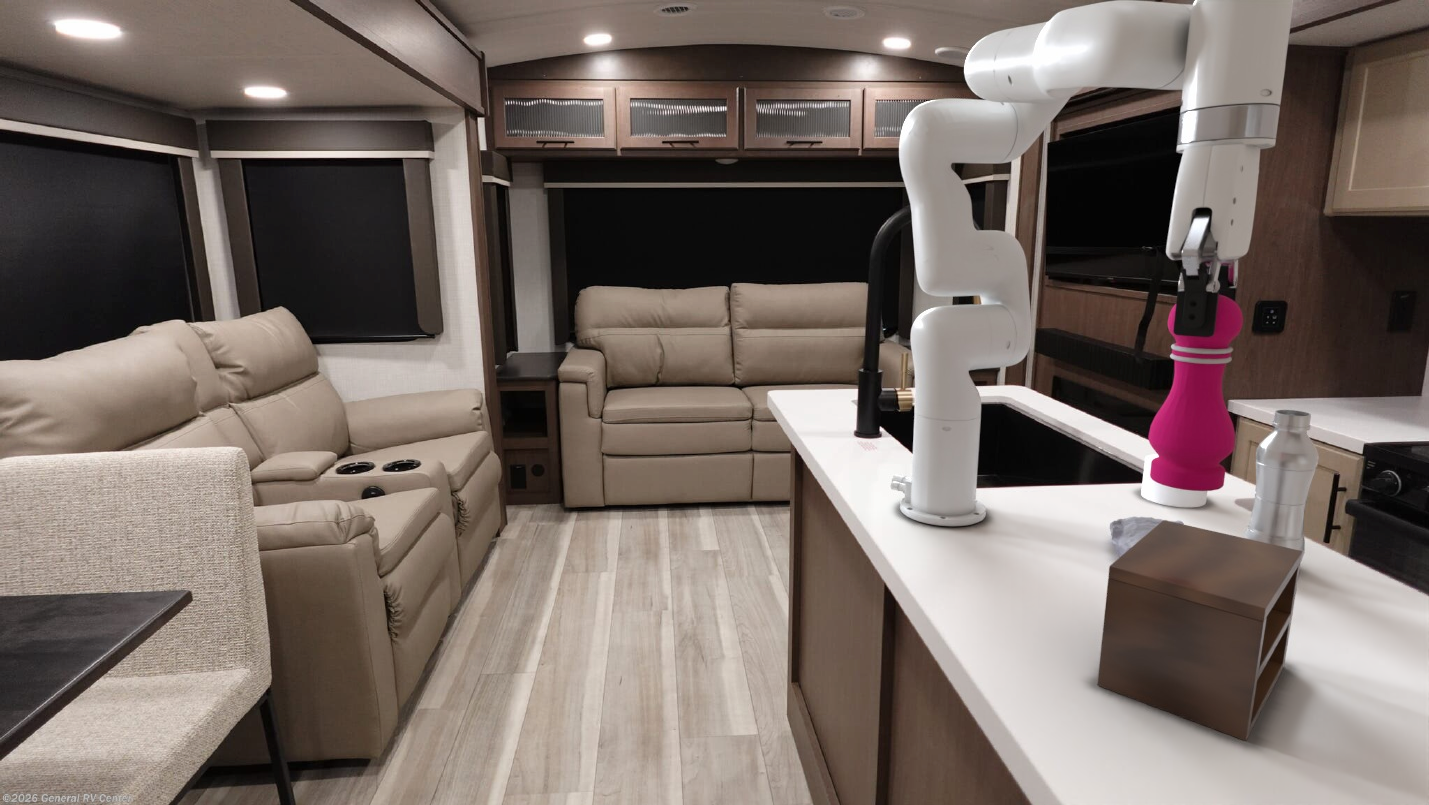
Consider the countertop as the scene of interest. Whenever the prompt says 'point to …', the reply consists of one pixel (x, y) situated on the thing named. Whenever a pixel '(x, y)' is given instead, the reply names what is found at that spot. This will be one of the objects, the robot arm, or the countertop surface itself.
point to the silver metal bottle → (1283, 481)
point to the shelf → (1199, 624)
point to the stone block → (1131, 531)
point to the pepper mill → (1196, 408)
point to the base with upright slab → (1169, 491)
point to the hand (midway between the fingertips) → (1203, 330)
